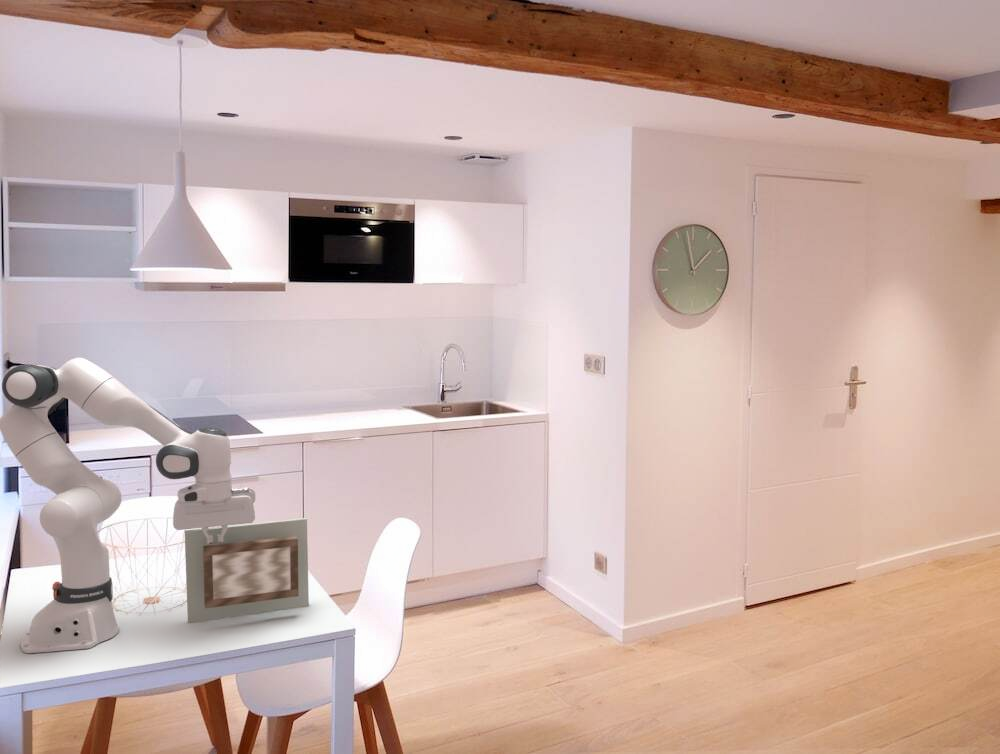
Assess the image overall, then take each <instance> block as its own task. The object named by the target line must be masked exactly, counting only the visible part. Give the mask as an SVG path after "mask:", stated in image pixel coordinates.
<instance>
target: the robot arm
mask: <svg viewBox="0 0 1000 754" xmlns="http://www.w3.org/2000/svg"><path fill="white" fill-rule="evenodd" d="M1 389H2V393H3V395H4V397H5V398H6V400H8V402H10V403H12V406H11V408H9V409H8V410H5V412H4V413H3V414H2V415H1V417H0V433H1V435H2V437H3V440H4V441H5V443H6V445H7V446H8V448H9V450H10V452H11V453H12V454H13V456H14V457H15V458H16V460H17V462H18V463H19V465H21V467H22V468H23V469H24V471H25V472H26V473H27V475H28V476H29V478H30V479H31V480H32V481H33V483H35V484H36V485H39V486H42V487H44V488H46V489H48V490H50V491H51V492H53V493H54V494H55V496H54V497H52V498H51V499H50V500H49V501H47V503H45V504H44V505H43V507H42V508H41V510H40V513H39V523H40V526H41V528H42V529H43V531H44V532H45V533H46V534H47V535H49V536H50V537H52V539H53V541H54V542H55V545H56V548H57V550H58V554H59V559H60V560H59V561H60V568H61V569H60V570H61V571H60V572H61V582H60V581H54V582H53V584H52V590H53V592H52V593H53V594H52V595H53V600H52V601H50V602H49V603H47V604H46V605H45V606H44V607H43V608H41V609H40V610H39V611H38V612H37V613H36V614H35V615H34V617H33V619H32V620H31V624H30V629H29V630H28V631H27V632H26V633H25V634H24V635H23V636H22V638H21V640H20V645H19V646H20V649H21V652H23V653H25V654H36V653H47V652H62V651H72V650H73V651H74V650H85V649H91V648H93V647H96V645H98V644H100V643H102V642H105V641H107V640H110V639H111V638H113V637H115V636H116V635H117V634H118V633H119V632H120V627H119V625H118V623H117V620H116V616H115V612H114V608H113V606H114V605H113V601H112V600H113V597H114V589H113V582H112V581H113V580H112V577H111V575H110V553H109V549H108V547H107V546H106V545H105V544H103V543H102V542H101V539H100V536H99V534H98V530H97V529H98V528H97V527H98V524H101V523H102V522H105V521H106V520H108V519H110V518H111V517H112V516H113V515H114V514H115V513H116V511H118V510H119V508H120V506H121V504H122V498H123V497H122V492H121V491H120V488H119V487H118V486H117V485H116V484H115V483H114V482H112V481H111V480H108V479H104V478H102V477H100V475H98V474H97V473H95V472H94V471H93V470H91V469H90V468H89V467H88V466H86V464H84V463H83V462H82V461H80V459H79V458H78V457H77V456H76V455H75V454H74V453H73V451H72V450H71V449H70V448H69V446H68V445H67V444H66V442H65V441H64V440H63V438H62V437H61V436H60V434H59V433H58V432H57V430H56V429H55V427H54V426H53V425H52V423H51V422H50V419H49V418H48V415H51V414H52V413H53V412H55V410H56V408H58V406H59V405H60V404H62V402H63V401H64V400H65V399H67V400H69V401H71V402H72V403H73V404H75V406H77V407H79V408H80V410H82V411H84V413H86V414H87V415H88V416H89V417H91V418H93V419H94V420H95V421H98V422H99V423H102V425H103V424H104V425H108V426H122V427H132V428H135V429H138V430H140V431H143V433H145V434H147V435H149V436H150V437H152V439H154V440H155V441H156V442H158V443H160V444H161V445H162V447H161V448H160V449H159V451H157V454H156V457H155V464H156V468H157V470H158V472H159V473H160V475H161V476H163V477H165V478H166V479H169V480H181V479H186V478H190V477H194V478H195V483H193V484H190V485H188V486H185V487H183V488H180V489H179V490H178V491H177V500H176V502H175V503H174V507H173V514H172V515H173V516H172V525H173V528H174V529H175V530H177V531H182V530H184V531H185V530H194V529H202V531H203V533H204V534H205V536H206V537H207V544H210V543H213V536H212V535H209V534H208V533H207V531H208V528H213V527H221V528H222V531H221V533H220V534H219V535H217V543H220V542H223V536H224V535H225V533H226V531H227V529H228V526H232V525H241V524H251V523H253V522H254V521H255V520H256V515H255V514H256V511H255V506H254V503H255V502H256V492H255V490H253V489H251V488H249V487H244V488H240V487H239V488H232V486H233V485H232V474H231V472H230V471H231V469H230V467H231V464H232V454H231V453H232V452H231V444H230V439H229V436H228V434H227V432H225V431H224V430H222V429H219V428H215V427H201V428H198V429H197V430H196V431H195V432H191V431H189V430H186V429H183V428H182V427H181V426H179V425H178V424H177V423H175V422H173V420H171V419H169V418H168V416H165V415H164V414H163V413H161V412H160V411H158V410H157V409H156V408H155V407H153V406H151V405H149V404H148V403H146V402H145V400H143V399H141V398H140V397H139V396H137V395H136V394H135V393H134V392H132V390H130V389H129V388H128V387H126V386H125V385H124V384H123V383H121V382H120V381H119V380H118V379H117V378H115V376H113V375H111V374H110V373H109V372H108V371H106V370H105V369H104V368H102V367H100V366H99V365H97V364H95V363H94V362H92V361H90V360H88V359H86V358H84V357H74V358H72V359H69V360H68V361H66V362H65V363H64V364H62V366H61V367H58V368H55V367H52V366H47V365H44V364H28V363H27V364H26V363H25V364H20V365H17V366H15V367H13V368H11V369H10V370H9V371H8V372H6V374H5V375H4V376H3V379H2V383H1Z"/></svg>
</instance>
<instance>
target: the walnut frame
mask: <svg viewBox="0 0 1000 754" xmlns="http://www.w3.org/2000/svg"><path fill="white" fill-rule="evenodd" d="M203 564H204V605H205V608H213V607H220V606H228V605H236V604H243V603H251V602H258V601H266V600H273V599H281V598H289V597H296V596H299V595H298V538H297V537H296V536H293V537H283V538H273V539H264V540H254V541H245V542H235V543H226V544H216V545H206V546H203Z"/></svg>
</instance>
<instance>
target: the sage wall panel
mask: <svg viewBox="0 0 1000 754" xmlns="http://www.w3.org/2000/svg"><path fill="white" fill-rule="evenodd" d="M221 531H222V528H221V526H215V527H208V531H207V533H208V534H209V535H212V536H213V543H210V544H207V537H206V536H205V534H204V533H203V531H202V528H194V529H184V548H185V549H184V550H185V551H184V552H185V553H184V554H185V555H184V557H185V558H184V559H185V577H186V578H185V581H186V583H185V584H186V606H187V613H186V614H187V624H194V623H199V622H207V621H213V620H214V619H215V620H222V619H227V618H228V617H229V618H235V617H240V616H248V614H249V615H256V614H260V613H262V614H263V613H269V612H270V613H271V612H275V611H276V612H278V611H283V610H288V609H289V610H291V609H297V608H301V607H302V608H303V607H309V605H310V604H309V559H308V558H309V556H308V555H309V553H308V552H309V551H308V550H309V549H308V548H309V547H308V518H306V517H299V518H291V519H289V518H288V519H282V520H281V519H280V520H271V521H263V522H254V523H253V522H252V523H245V524H235V525H228V529H227V531H226V533H225V535H224V536H223V542H220V543H217V535H219V534H220V533H221ZM293 536H296V537H297V538H298V595H299V596H296V597H289V598H281V599H273V600H266V601H258V602H251V603H243V604H236V605H228V606H220V607H213V608H205V605H204V564H203V546H206V545H216V544H226V543H235V542H245V541H254V540H264V539H273V538H283V537H293ZM221 618H222V619H221Z"/></svg>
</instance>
